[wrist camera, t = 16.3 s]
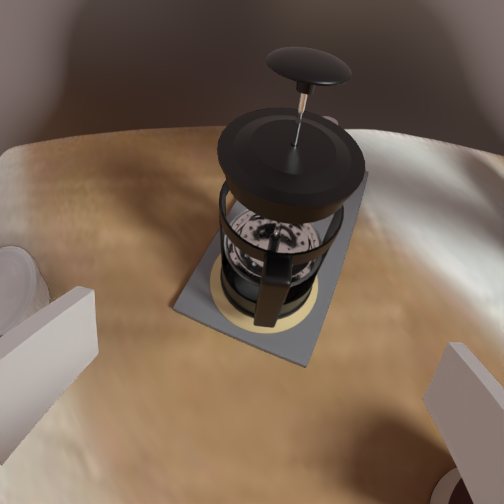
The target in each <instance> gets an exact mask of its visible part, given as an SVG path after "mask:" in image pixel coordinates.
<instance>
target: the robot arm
mask: <svg viewBox="0 0 504 504" xmlns="http://www.w3.org/2000/svg"><path fill="white" fill-rule="evenodd" d="M98 354H99V351H98V340H97V328H96V314H95V294H94V290H93V289H89V288H85V287H81V286H76V287H75V288H73V289H72V290H70V291H69V292H67V293H65V294H64V295H62V296H61V297H59V298H58V299H56V300H55V301H53V302H52V303H50V304H48V305H47V306H45V307H44V308H42V309H41V310H39V311H38V312H36V313H35V314H33V315H32V316H30V317H29V318H28V319H26V320H25V321H23V322H22V323H20V324H19V325H17V326H16V327H14V328H13V329H11V330H10V331H9V332H7V333H6V334H4V335H1V336H0V465H3V464H4V462H5V461H6V460H7V459H8V457H9V456H10V455H11V454H12V452H13V451H14V450H15V449H16V448H17V446H18V445H19V444H20V443H21V442H22V440H23V439H24V438H25V437H26V436H27V434H28V433H29V432H30V431H31V430H32V429H33V427H34V426H35V425H36V424H37V423H38V421H39V420H40V419H41V418H42V417H43V416H44V414H45V413H46V412H47V411H48V410H49V409H50V408H51V406H52V405H53V404H54V403H55V402H56V401H57V400H58V398H59V397H60V396H61V395H62V394H63V393H64V392H65V390H66V389H67V388H68V387H69V386H70V385H71V384H72V383H73V381H74V380H75V379H76V378H77V377H78V376H79V375H80V374H81V372H82V371H83V370H84V369H85V368H86V367H87V366H88V365H89V364H90V363H91V361H92V360H93V359H94V358H95V357H96V356H97V355H98ZM422 400H423V402H424V404H425V405H426V407H427V409H428V411H429V413H430V415H431V417H432V419H433V421H434V422H435V424H436V426H437V428H438V430H439V432H440V434H441V436H442V438H443V440H444V442H445V444H446V446H447V448H448V450H449V452H450V454H451V456H452V458H453V460H454V462H455V464H456V466H457V468H458V470H459V473H460V475H461V477H462V479H463V481H464V483H465V485H466V488H467V490H468V492H469V494H470V497H471V499H472V501H473V503H474V504H504V389H503V387H502V386H501V385H500V384H499V383H498V382H497V380H496V379H495V378H494V377H493V376H492V375H491V373H490V372H489V371H488V370H487V369H486V368H485V367H484V366H483V364H482V363H481V362H480V361H479V360H478V359H477V358H476V357H475V356H474V355H473V353H472V352H471V351H470V350H469V349H468V348H467V347H466V346H465V345H464V344H463V343H458V342H448V343H447V345H446V348H445V350H444V353H443V355H442V358H441V360H440V362H439V365H438V367H437V369H436V372H435V374H434V376H433V378H432V380H431V383H430V385H429V387H428V389H427V391H426V393H425V395H424V397H423V399H422Z"/></svg>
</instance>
